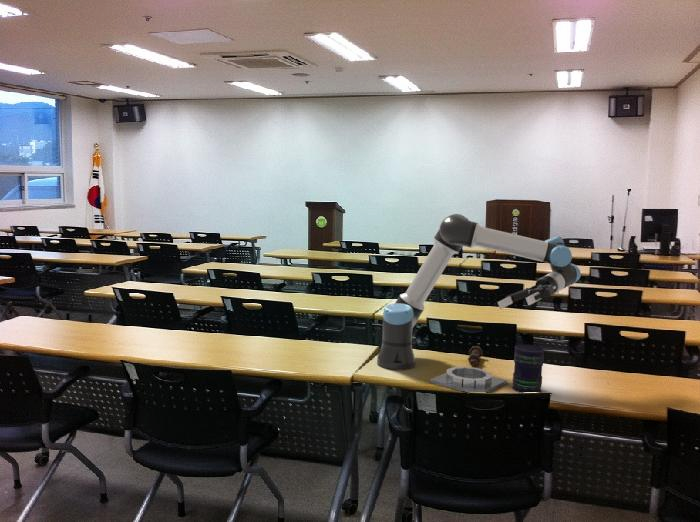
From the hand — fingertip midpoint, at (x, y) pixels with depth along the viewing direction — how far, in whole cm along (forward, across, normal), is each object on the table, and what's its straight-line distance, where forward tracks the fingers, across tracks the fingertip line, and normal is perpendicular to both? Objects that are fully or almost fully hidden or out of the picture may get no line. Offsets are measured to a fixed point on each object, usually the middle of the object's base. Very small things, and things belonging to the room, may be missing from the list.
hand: (513, 303), depth 204 cm
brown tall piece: (-1, +33, -23) cm, 40 cm away
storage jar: (+8, 0, -30) cm, 31 cm away
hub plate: (+20, +14, -22) cm, 33 cm away
